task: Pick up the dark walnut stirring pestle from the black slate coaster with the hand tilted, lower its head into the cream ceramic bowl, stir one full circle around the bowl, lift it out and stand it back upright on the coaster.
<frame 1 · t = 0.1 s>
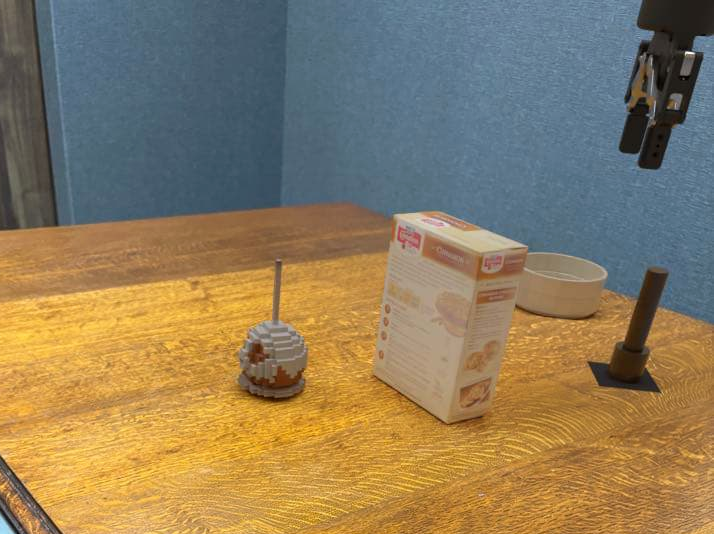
hand: (637, 160, 85), 27 cm above the table, tool pointing down, fingers open, 8 cm apart
coffeecake box: (428, 395, 99), on the table
coaster: (622, 379, 107), on the table
bowl: (551, 303, 130), on the table
pestle: (623, 376, 107), resting on coaster
decorative ornament: (271, 388, 97), on the table
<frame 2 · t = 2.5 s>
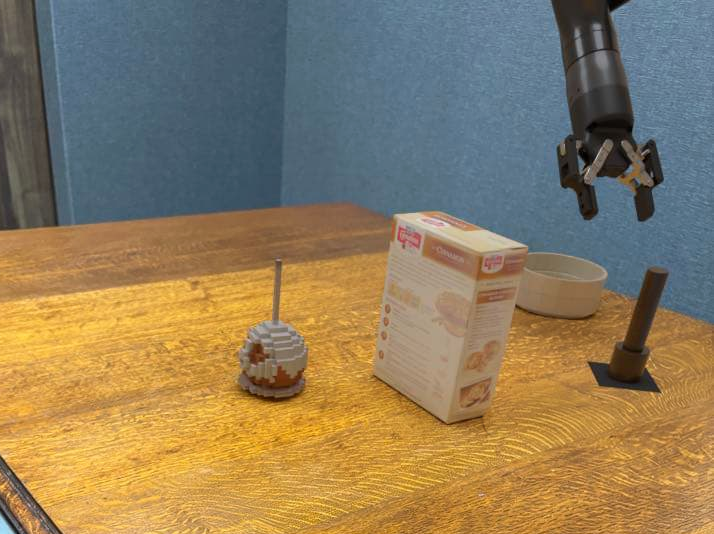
hand: (619, 218, 105), 18 cm above the table, tool tilted 45°, fingers open, 8 cm apart
nothing on the table moved.
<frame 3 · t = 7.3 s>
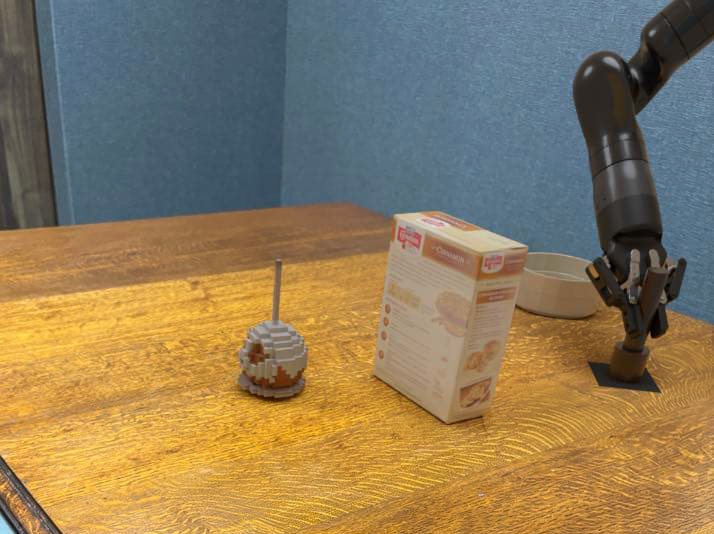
hand: (648, 335, 102), 7 cm above the table, tool tilted 45°, fingers closed on pestle, 2 cm apart
pestle: (623, 376, 107), point 1 cm above the table, touching coaster, gripper
everything else where it was.
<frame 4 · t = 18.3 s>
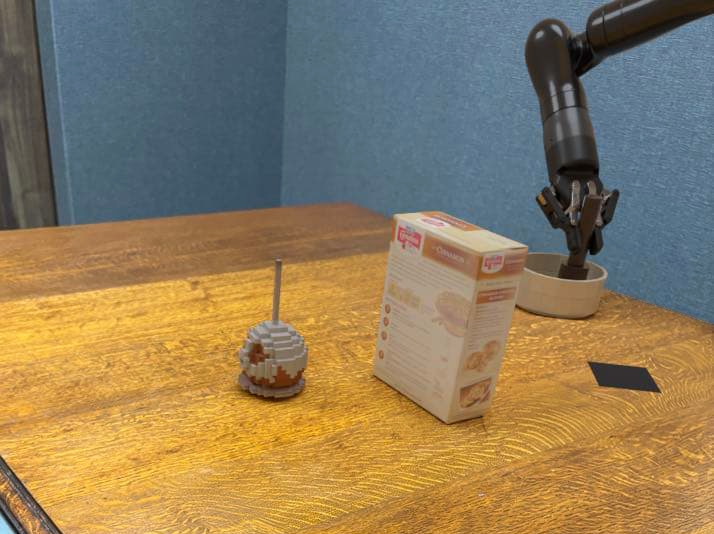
hand: (586, 252, 123), 9 cm above the table, tool tilted 45°, fingers closed on pestle, 2 cm apart
pestle: (568, 289, 129), point 3 cm above the table, touching gripper
everything else where it was.
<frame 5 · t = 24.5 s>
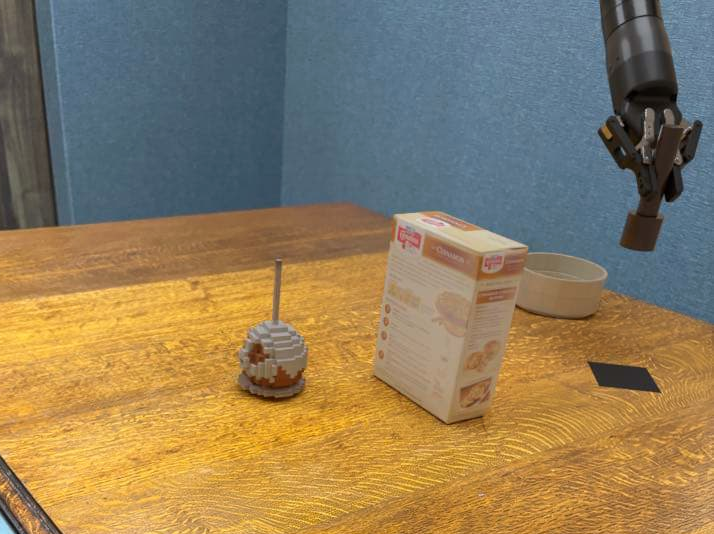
hand: (662, 197, 99), 22 cm above the table, tool tilted 45°, fingers closed on pestle, 2 cm apart
pestle: (636, 246, 104), point 15 cm above the table, touching gripper
everything else where it was.
when the fingers open (7 cm above the table, at t = 29.7 s): pestle stays where it is, resting on coaster.
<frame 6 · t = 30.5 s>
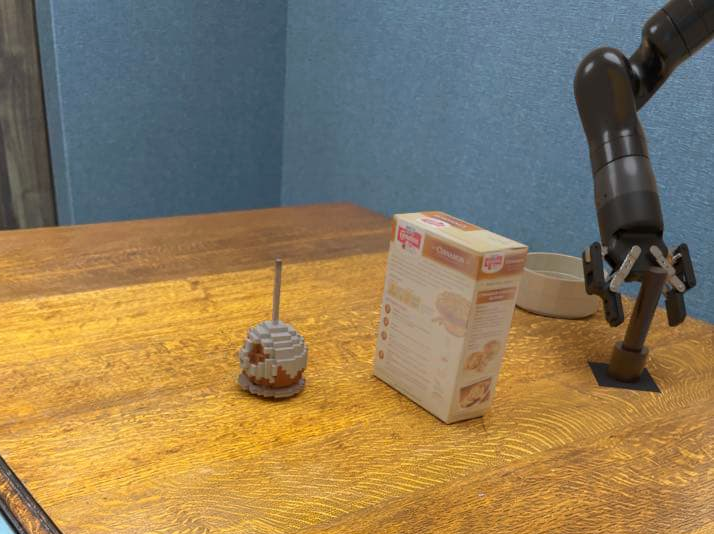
hand: (647, 324, 102), 8 cm above the table, tool tilted 45°, fingers open, 8 cm apart
pestle: (622, 376, 107), resting on coaster
everything else where it was.
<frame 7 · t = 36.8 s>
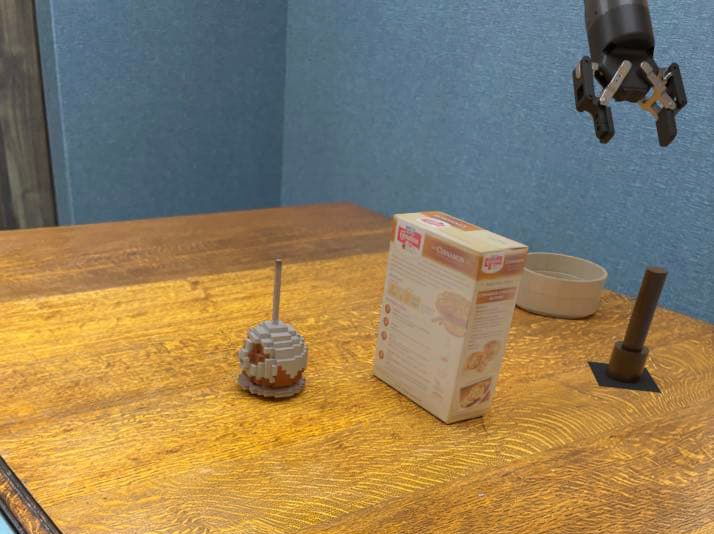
hand: (638, 141, 101), 27 cm above the table, tool tilted 45°, fingers open, 8 cm apart
nothing on the table moved.
at the end: pestle 0.1 cm off-centre on the coaster, point 0.5 cm above the coaster's base; pestle tilted 0°; pestle touching coaster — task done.
